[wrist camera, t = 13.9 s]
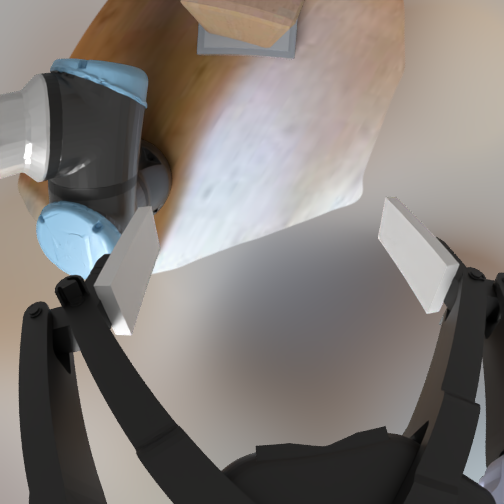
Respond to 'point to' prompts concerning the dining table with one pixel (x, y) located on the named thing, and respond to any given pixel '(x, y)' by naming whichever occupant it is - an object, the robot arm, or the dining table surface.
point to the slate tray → (246, 45)
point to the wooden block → (246, 18)
